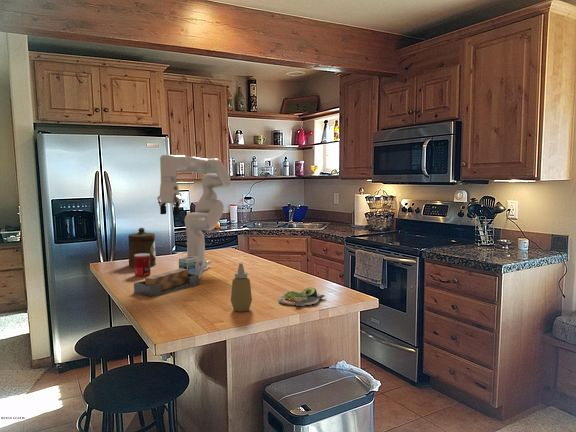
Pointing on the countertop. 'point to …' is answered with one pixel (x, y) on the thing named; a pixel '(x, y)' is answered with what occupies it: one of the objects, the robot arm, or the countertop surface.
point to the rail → (168, 278)
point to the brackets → (156, 289)
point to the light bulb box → (192, 265)
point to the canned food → (142, 264)
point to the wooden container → (142, 246)
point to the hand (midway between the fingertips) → (169, 214)
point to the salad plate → (301, 297)
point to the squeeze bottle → (241, 291)
